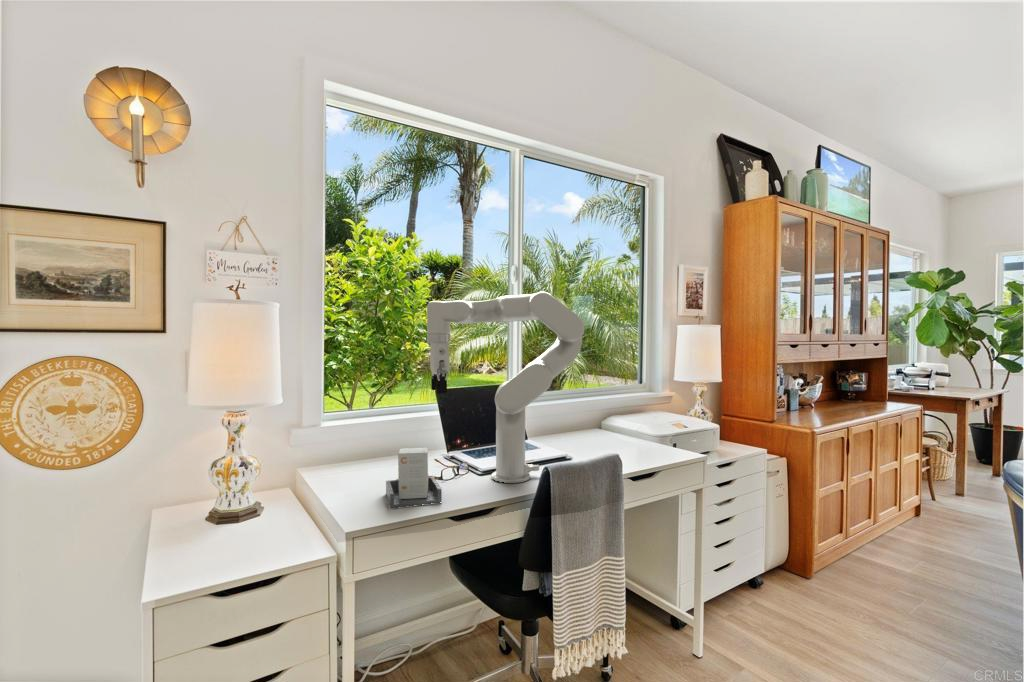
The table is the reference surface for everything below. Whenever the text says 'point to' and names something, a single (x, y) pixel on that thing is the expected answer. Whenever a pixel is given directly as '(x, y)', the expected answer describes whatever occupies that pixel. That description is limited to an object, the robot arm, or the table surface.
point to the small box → (413, 473)
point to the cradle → (395, 502)
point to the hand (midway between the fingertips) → (439, 391)
